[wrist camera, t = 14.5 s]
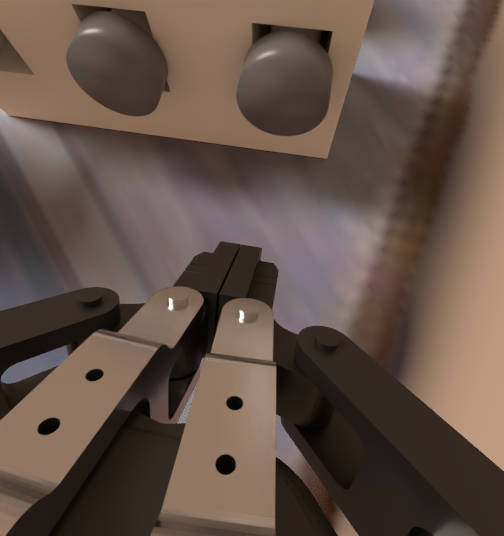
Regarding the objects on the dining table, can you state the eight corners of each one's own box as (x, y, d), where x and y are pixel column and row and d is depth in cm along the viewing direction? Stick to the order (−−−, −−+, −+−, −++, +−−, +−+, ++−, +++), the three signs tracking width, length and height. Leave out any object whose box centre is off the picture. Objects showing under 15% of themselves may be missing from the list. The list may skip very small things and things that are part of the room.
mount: (326, 158, 25) (382, -26, 14) (8, 115, 27) (-177, -77, 16) (338, 69, 28) (393, -148, 16) (48, 35, 30) (-83, -177, 18)
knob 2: (320, 141, 20) (338, 67, 15) (239, 130, 20) (232, 55, 16) (335, 34, 23) (355, -57, 18) (263, 26, 23) (264, -64, 18)
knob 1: (169, 121, 21) (141, 45, 16) (93, 111, 21) (45, 34, 16) (201, 19, 24) (186, -71, 19) (134, 12, 24) (103, -78, 19)
